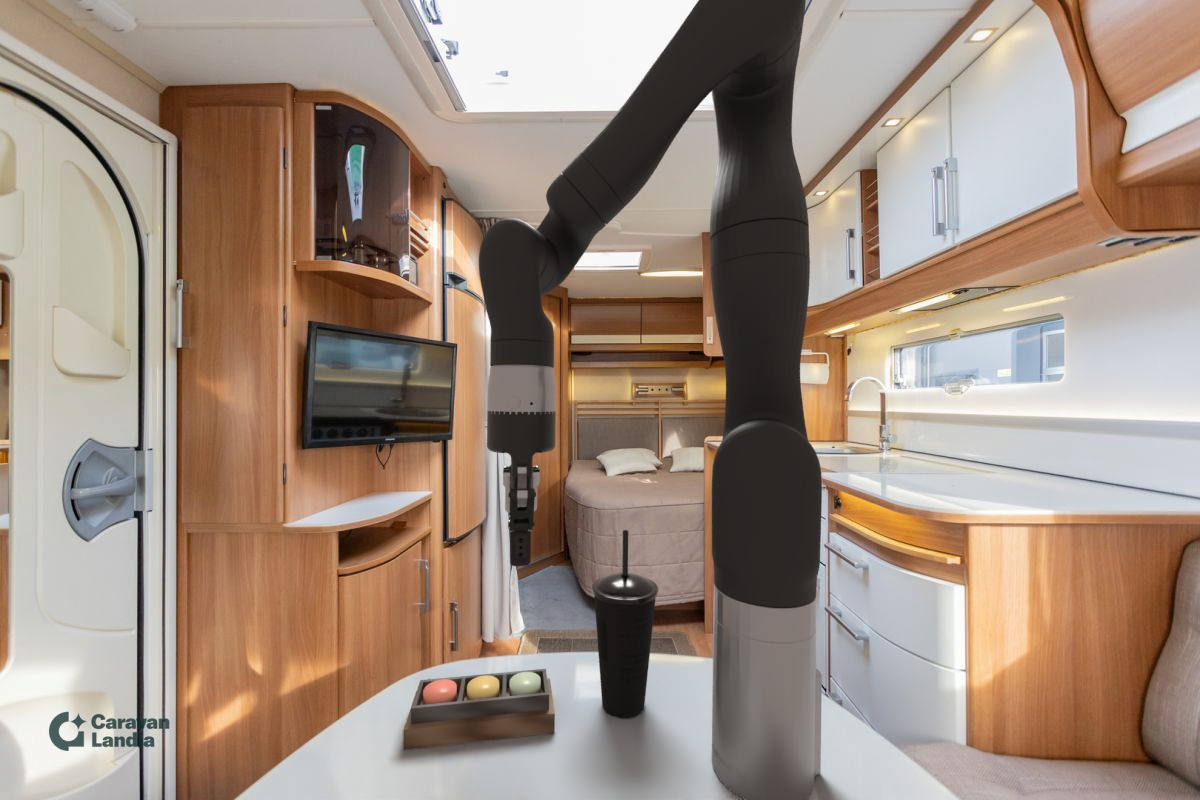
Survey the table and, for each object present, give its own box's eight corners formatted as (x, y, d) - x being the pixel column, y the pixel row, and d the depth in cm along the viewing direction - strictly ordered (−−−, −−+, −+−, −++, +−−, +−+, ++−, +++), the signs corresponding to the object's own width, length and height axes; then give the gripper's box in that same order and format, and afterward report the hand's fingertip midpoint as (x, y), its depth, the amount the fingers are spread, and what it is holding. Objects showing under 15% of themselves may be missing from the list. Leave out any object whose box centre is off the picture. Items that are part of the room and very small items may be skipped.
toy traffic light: (549, 695, 56) (550, 664, 56) (554, 732, 50) (554, 698, 50) (416, 708, 53) (416, 676, 53) (403, 750, 47) (403, 713, 47)
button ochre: (499, 688, 54) (499, 674, 54) (498, 707, 50) (498, 692, 50) (468, 691, 53) (468, 677, 53) (465, 711, 50) (465, 695, 50)
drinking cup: (653, 733, 50) (656, 543, 50) (583, 722, 51) (585, 538, 51) (659, 689, 57) (661, 524, 57) (597, 681, 59) (599, 520, 59)
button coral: (458, 692, 53) (458, 677, 53) (454, 712, 49) (454, 696, 49) (426, 695, 52) (426, 680, 52) (420, 715, 49) (420, 700, 49)
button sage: (539, 684, 54) (539, 670, 54) (541, 703, 51) (541, 688, 51) (509, 687, 54) (509, 673, 54) (509, 706, 50) (509, 691, 50)
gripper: (561, 409, 47) (559, 584, 47) (550, 407, 60) (549, 544, 60) (484, 409, 46) (482, 589, 46) (489, 406, 59) (488, 547, 59)
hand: (520, 563), depth 53 cm, fingers closed
